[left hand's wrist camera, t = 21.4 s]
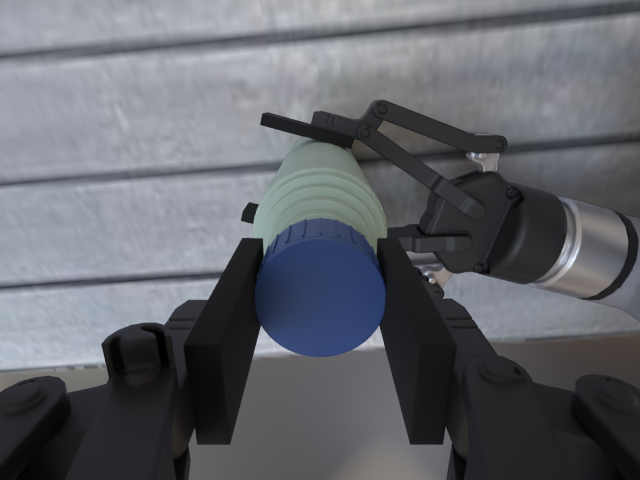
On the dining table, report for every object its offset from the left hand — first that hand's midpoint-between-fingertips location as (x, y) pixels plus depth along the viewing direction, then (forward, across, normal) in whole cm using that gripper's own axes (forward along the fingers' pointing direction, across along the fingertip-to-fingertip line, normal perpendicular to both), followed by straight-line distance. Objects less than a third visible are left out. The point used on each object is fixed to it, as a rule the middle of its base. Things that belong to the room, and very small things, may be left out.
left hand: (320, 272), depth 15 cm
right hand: (+16, -5, +1) cm, 17 cm away
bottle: (+23, 0, 0) cm, 23 cm away
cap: (-2, 0, 0) cm, 2 cm away
